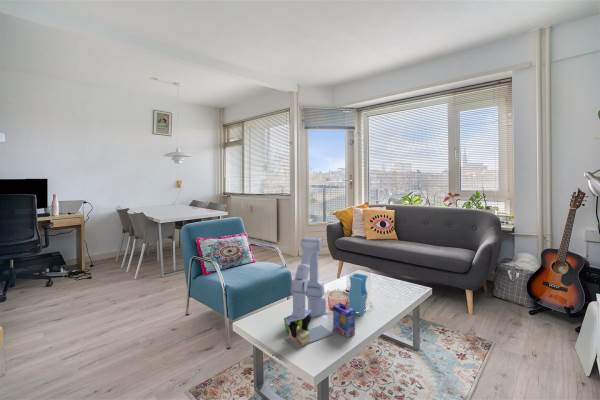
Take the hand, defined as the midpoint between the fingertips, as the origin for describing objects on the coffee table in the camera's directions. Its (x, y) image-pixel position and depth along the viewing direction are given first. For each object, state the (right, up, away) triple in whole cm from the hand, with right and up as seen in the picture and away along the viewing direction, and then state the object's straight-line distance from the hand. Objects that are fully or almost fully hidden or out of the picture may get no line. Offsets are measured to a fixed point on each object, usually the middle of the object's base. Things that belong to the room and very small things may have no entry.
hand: (299, 334), depth 134 cm
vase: (+32, -1, +29) cm, 43 cm away
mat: (+5, -3, +3) cm, 6 cm away
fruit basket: (-4, 0, +13) cm, 13 cm away
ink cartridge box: (+21, -3, +8) cm, 23 cm away
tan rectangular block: (0, -2, 0) cm, 2 cm away
